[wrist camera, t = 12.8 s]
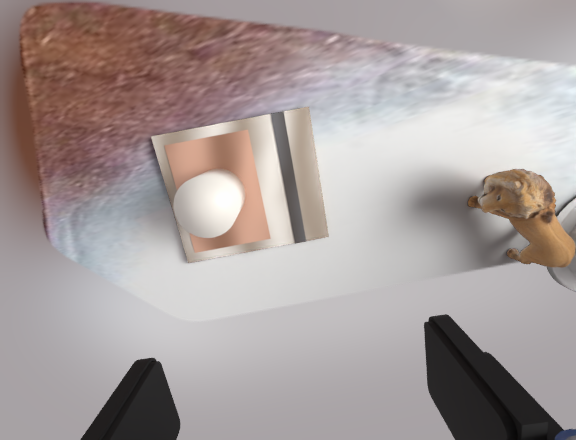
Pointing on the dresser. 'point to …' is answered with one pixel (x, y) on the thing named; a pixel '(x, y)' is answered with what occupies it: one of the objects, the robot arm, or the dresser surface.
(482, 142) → the dresser surface
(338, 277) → the dresser surface
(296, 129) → the board
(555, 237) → the lion figurine
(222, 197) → the white rounded cylinder
